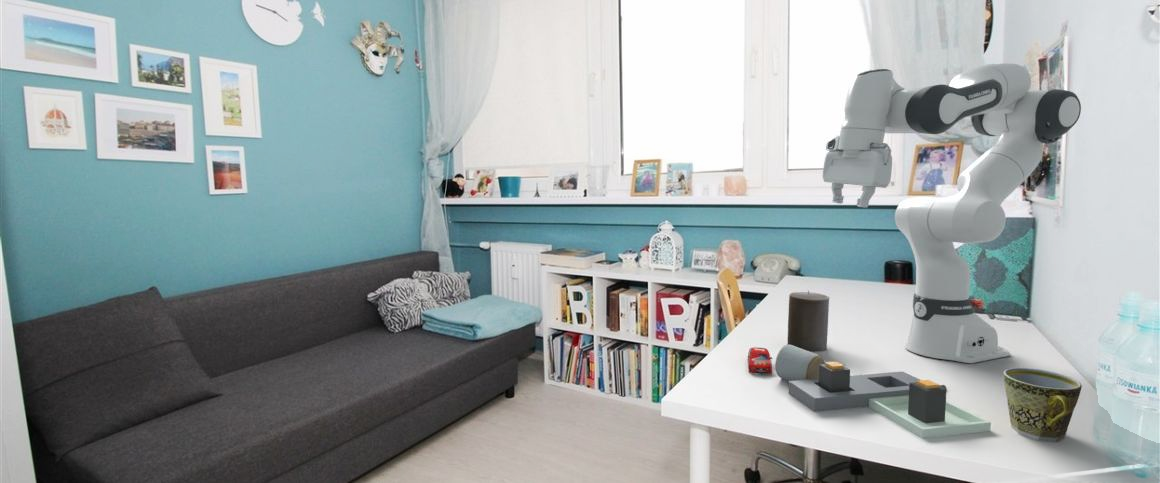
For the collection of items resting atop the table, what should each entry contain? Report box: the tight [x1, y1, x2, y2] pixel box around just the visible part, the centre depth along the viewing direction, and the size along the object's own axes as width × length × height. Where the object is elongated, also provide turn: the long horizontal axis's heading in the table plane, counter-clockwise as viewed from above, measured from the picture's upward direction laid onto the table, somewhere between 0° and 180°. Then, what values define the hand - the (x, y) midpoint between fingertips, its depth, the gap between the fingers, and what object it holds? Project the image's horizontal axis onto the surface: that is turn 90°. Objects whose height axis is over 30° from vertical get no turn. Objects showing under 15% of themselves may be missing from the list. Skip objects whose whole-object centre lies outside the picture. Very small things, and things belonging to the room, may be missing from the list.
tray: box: [868, 395, 992, 439], centre depth 98 cm, size 13×13×2 cm
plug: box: [908, 379, 947, 423], centre depth 98 cm, size 4×4×7 cm
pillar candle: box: [786, 290, 831, 353], centre depth 141 cm, size 10×10×15 cm
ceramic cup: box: [1003, 367, 1083, 443], centre depth 90 cm, size 13×10×10 cm
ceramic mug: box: [774, 344, 826, 382], centre depth 118 cm, size 11×8×8 cm
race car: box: [747, 346, 773, 375], centre depth 128 cm, size 13×5×4 cm, turn 163°
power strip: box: [788, 361, 947, 413], centre depth 109 cm, size 32×9×8 cm, turn 99°
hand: (849, 205), depth 123 cm, fingers open, 8 cm apart
